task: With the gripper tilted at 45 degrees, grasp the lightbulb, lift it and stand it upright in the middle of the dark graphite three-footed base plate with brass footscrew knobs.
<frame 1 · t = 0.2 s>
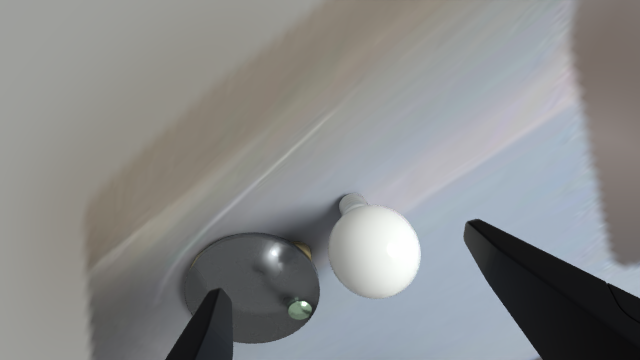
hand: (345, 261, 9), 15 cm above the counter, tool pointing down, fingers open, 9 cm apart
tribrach: (257, 277, 28), on the counter
lightbulb: (351, 202, 26), on the counter
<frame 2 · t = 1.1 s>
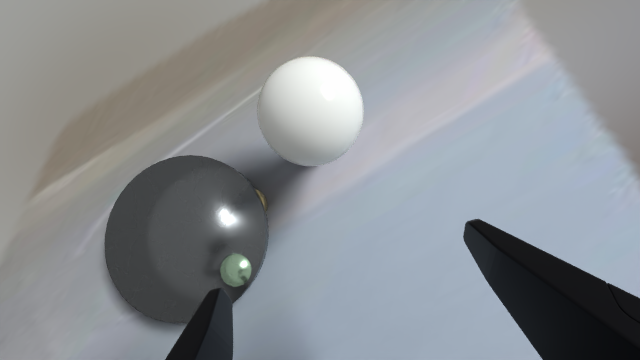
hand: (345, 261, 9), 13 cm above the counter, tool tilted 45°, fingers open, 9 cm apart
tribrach: (200, 233, 23), on the counter
lightbulb: (317, 147, 24), on the counter
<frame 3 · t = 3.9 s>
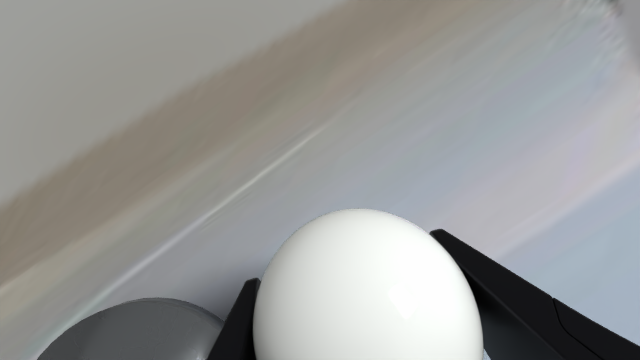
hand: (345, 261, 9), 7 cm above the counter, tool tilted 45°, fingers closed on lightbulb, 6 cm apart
lightbulb: (345, 267, 16), on the counter, touching gripper
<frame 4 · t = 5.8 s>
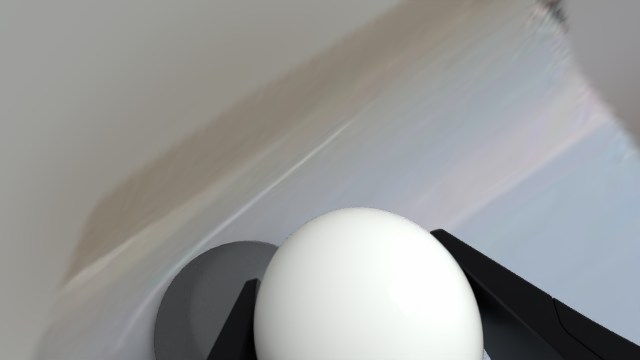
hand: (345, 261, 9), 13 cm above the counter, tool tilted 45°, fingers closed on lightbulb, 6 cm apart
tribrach: (251, 319, 22), on the counter
lightbulb: (345, 267, 16), point 6 cm above the counter, touching gripper
when the fingers open (10 cm above the counter, at t = 7.7 s): lightbulb stays where it is, resting on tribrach.
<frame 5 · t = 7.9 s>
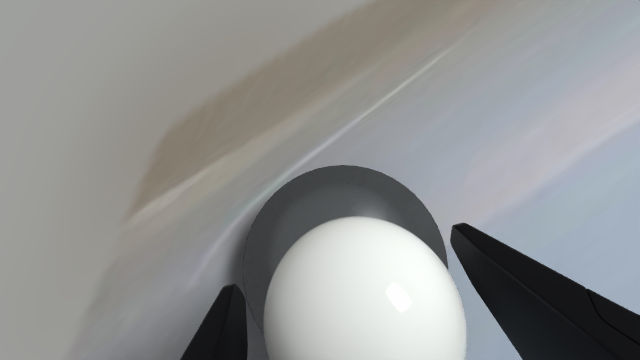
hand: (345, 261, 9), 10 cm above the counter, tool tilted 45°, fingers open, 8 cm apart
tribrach: (342, 259, 19), on the counter
lightbulb: (345, 268, 17), point 2 cm above the counter, touching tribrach
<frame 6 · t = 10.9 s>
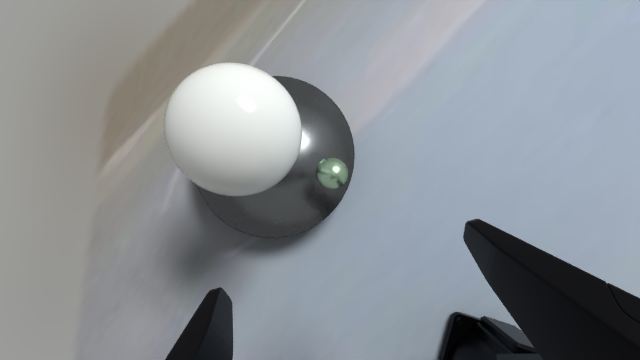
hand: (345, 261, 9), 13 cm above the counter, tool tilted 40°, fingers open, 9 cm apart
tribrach: (278, 159, 23), on the counter
lightbulb: (274, 158, 21), point 2 cm above the counter, touching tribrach
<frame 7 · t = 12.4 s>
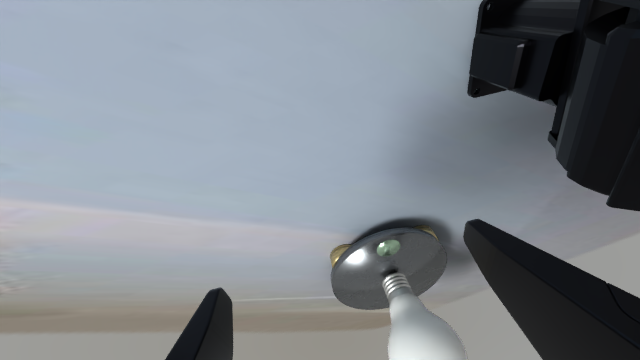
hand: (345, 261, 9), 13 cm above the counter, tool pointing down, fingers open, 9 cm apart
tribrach: (382, 258, 31), on the counter
lightbulb: (390, 274, 29), point 2 cm above the counter, touching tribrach
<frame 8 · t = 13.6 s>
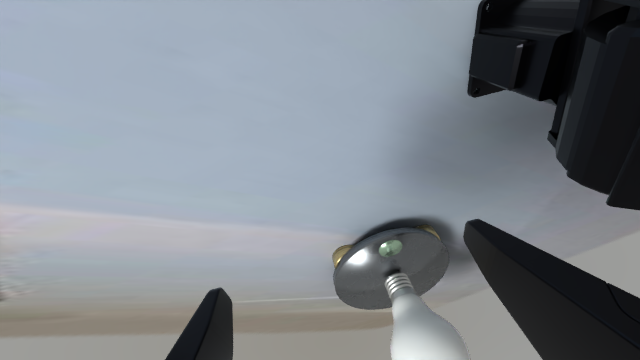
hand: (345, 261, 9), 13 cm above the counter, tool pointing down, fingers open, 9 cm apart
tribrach: (384, 258, 31), on the counter
lightbulb: (393, 273, 29), point 2 cm above the counter, touching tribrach
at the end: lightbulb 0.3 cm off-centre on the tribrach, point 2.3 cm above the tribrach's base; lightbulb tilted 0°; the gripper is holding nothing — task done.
